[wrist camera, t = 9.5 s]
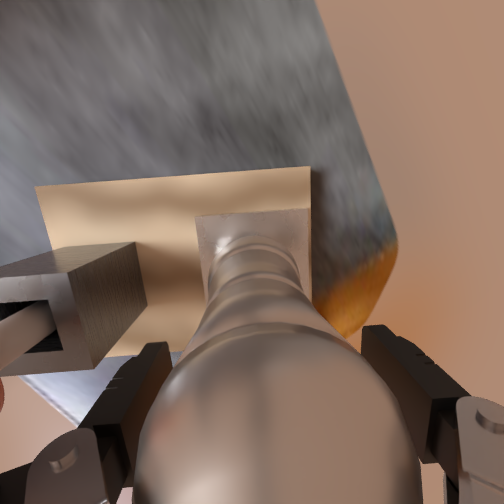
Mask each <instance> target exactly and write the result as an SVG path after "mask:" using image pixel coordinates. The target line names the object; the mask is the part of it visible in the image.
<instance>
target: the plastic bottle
mask: <svg viewBox="0 0 504 504" xmlns="http://www.w3.org/2000/svg"><path fill="white" fill-rule="evenodd" d="M208 295H209V296H208V303H207V307H206V310H205V312H204V314H203V317H202V319H201V321H200V324H199V326H198V328H197V330H196V332H195V334H194V335H193V337H192V338H191V340H190V342H189V343H188V345H187V346H186V348H185V350H184V351H183V353H182V354H181V356H180V358H179V359H178V361H177V363H176V364H175V366H174V367H173V369H172V371H171V372H170V374H169V375H168V377H167V379H166V380H165V382H164V383H163V385H162V386H161V388H160V390H159V392H158V395H157V397H156V399H155V401H154V402H153V404H152V406H151V408H150V410H149V412H148V414H147V416H146V419H145V422H144V424H143V427H142V430H141V432H140V436H139V444H138V452H137V459H136V467H135V474H134V482H133V493H132V504H423V494H422V481H421V467H420V462H419V459H418V456H417V453H416V450H415V447H414V444H413V441H412V439H411V436H410V433H409V430H408V428H407V425H406V422H405V420H404V417H403V414H402V411H401V409H400V406H399V403H398V400H397V399H396V397H395V396H394V394H393V393H392V391H391V390H390V388H389V387H388V386H387V384H386V383H385V381H384V380H383V379H382V378H381V377H380V376H379V375H378V373H377V372H376V371H375V370H374V369H373V368H372V366H371V365H370V364H369V363H368V362H367V360H366V359H365V358H364V357H363V356H362V355H361V354H360V353H358V352H357V350H356V349H354V347H353V346H352V345H351V344H350V343H349V342H347V340H346V339H344V338H343V337H342V336H341V335H340V334H339V333H338V332H337V331H336V330H335V329H334V328H333V327H332V326H331V325H330V324H329V323H328V322H327V321H326V320H325V319H324V318H323V317H322V316H321V315H320V314H319V313H318V311H317V310H316V309H315V307H314V306H313V305H312V303H311V302H310V300H309V299H308V298H307V296H306V295H305V294H304V291H303V288H302V286H301V283H300V275H299V270H298V267H297V264H296V261H295V259H294V257H293V255H292V254H291V253H290V251H289V250H288V249H287V248H286V247H285V246H284V245H282V244H281V243H279V242H277V241H276V240H273V239H270V238H267V237H263V236H246V237H242V238H239V239H237V240H234V241H232V242H231V243H229V244H228V245H226V246H225V247H223V248H222V249H221V250H220V252H219V253H218V254H217V255H216V256H215V258H214V260H213V261H212V264H211V266H210V269H209V274H208Z"/></svg>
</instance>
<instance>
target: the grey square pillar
mask: <svg viewBox="0 0 504 504" xmlns="http://www.w3.org/2000/svg"><path fill="white" fill-rule="evenodd" d="M46 299H48V302H49V305H50V308H51V311H52V315H53V318H54V321H55V324H56V327H57V329H56V330H55V331H53V332H52V333H51V334H49V335H48V336H47V337H45V338H44V339H43V340H41V341H40V342H38V343H37V344H36V345H34V346H33V347H32V348H30V349H29V350H28V351H26V352H25V353H24V354H22V355H21V356H19V357H18V358H17V359H15V360H14V361H13V362H11V363H10V364H9V365H7V366H6V367H4V368H3V369H2V370H0V377H2V376H16V375H28V374H41V373H53V372H66V371H78V370H90V369H95V367H96V366H97V365H98V364H99V363H100V362H101V360H102V359H103V358H104V357H105V356H106V354H107V353H108V352H109V351H110V350H111V349H112V347H113V346H114V345H115V344H116V343H117V342H118V340H119V339H120V338H121V337H122V336H123V334H124V333H125V332H126V331H127V330H128V329H129V327H130V326H131V325H132V324H133V323H134V321H135V320H136V319H137V318H138V317H139V316H140V314H141V313H142V312H143V311H144V310H145V308H146V307H147V306H148V304H147V299H146V294H145V289H144V284H143V279H142V274H141V269H140V264H139V259H138V254H137V249H136V244H135V241H134V242H121V243H108V244H95V245H82V246H69V247H62V248H59V249H56V250H52V251H49V252H46V253H43V254H39V255H36V256H33V257H30V258H27V259H23V260H20V261H17V262H14V263H11V264H7V265H4V266H1V267H0V321H2V320H4V319H6V318H7V317H9V316H11V315H13V314H15V313H17V312H19V311H21V310H22V309H24V308H26V307H28V306H30V305H32V304H34V303H36V302H37V301H39V300H46Z"/></svg>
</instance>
